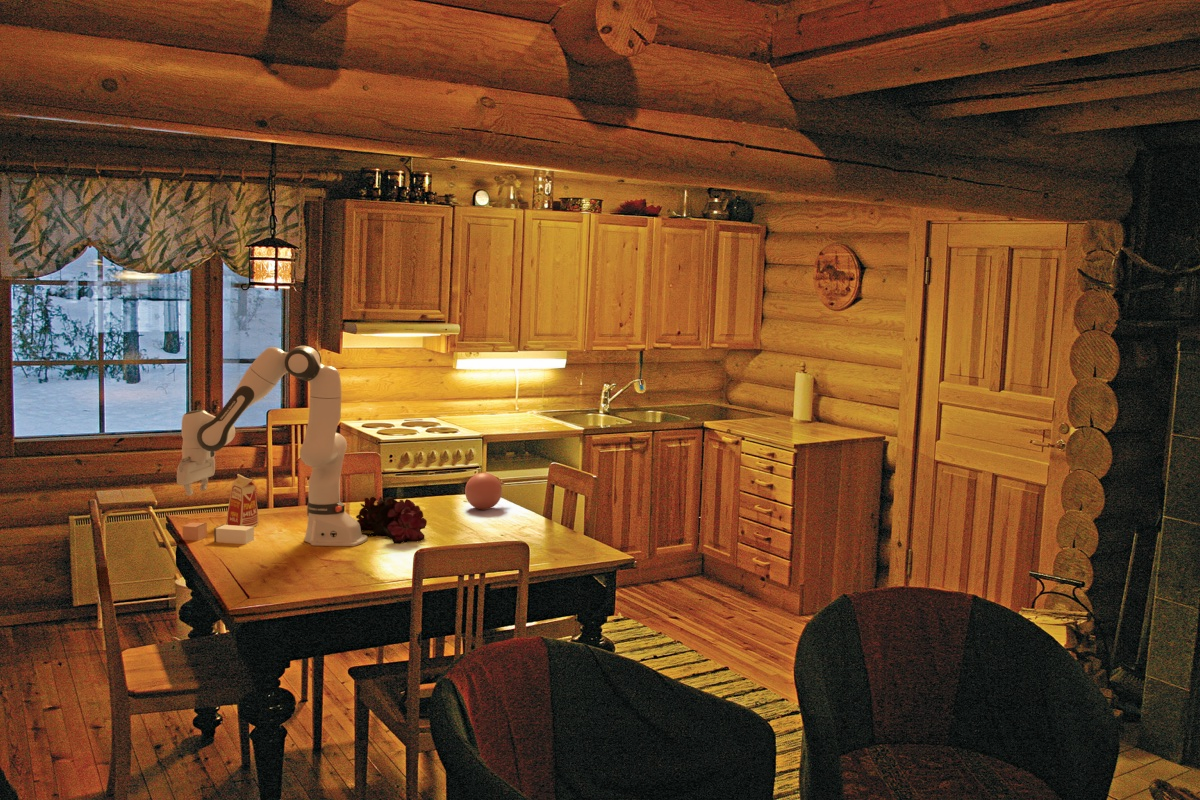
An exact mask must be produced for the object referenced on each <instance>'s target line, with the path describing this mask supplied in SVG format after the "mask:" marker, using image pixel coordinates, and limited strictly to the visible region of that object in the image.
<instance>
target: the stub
mask: <svg viewBox="0 0 1200 800" xmlns="http://www.w3.org/2000/svg"><path fill="white" fill-rule="evenodd" d="M207 537H208V523H206V522H189V523H186V524H185V525H182V540H183V541H196V542H197V541H201V540H203V539H206V538H207Z"/></svg>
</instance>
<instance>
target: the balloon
mask: <svg viewBox="0 0 1200 800" xmlns="http://www.w3.org/2000/svg"><path fill="white" fill-rule="evenodd" d="M468 479H469V480H468V481H467V482H466V484H465V487H464V494H465V498H466V501H467V502H468V503H469V504H470V505H471V506H472V507H473V508H475V509H478V510H484V511H485V510H488V509H492V508H494V506H496V505H497V504H498V503H499V502H500V499H501V498H502V494H503V490H502V489H503V488H502V485H504V484H505V482H504V481H499V479H498V478H497V477H496V476H495V475H494V474H491V473H487V472H479V473H476V474H474V475H472V476H471V477H470V478H468Z"/></svg>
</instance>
